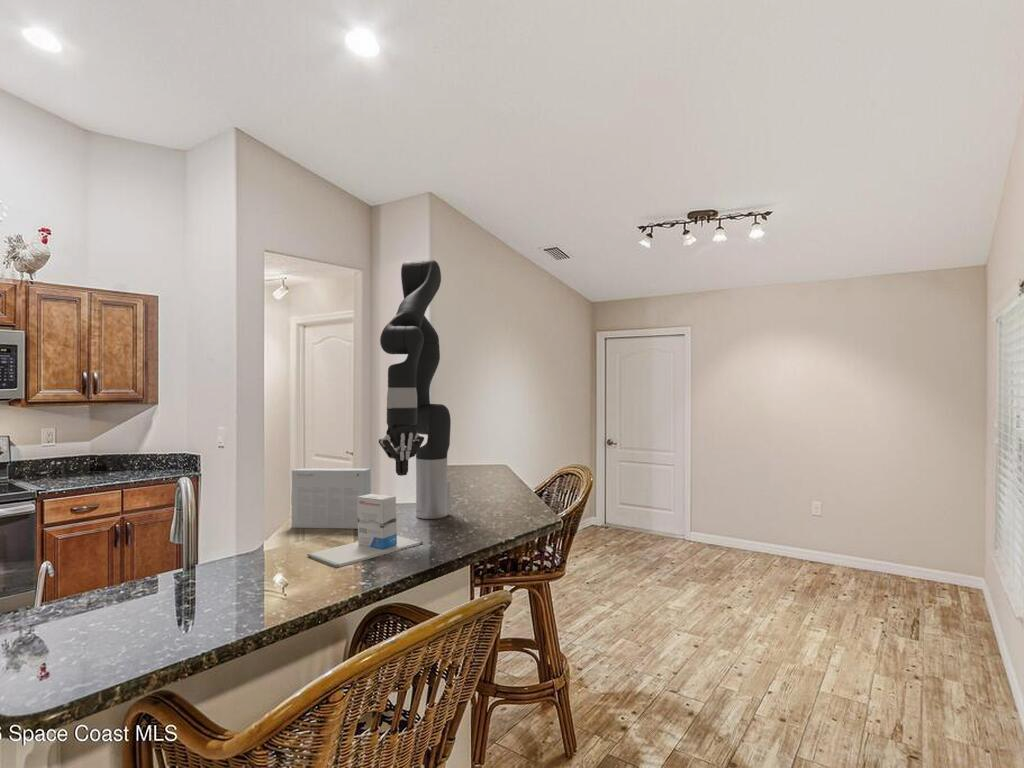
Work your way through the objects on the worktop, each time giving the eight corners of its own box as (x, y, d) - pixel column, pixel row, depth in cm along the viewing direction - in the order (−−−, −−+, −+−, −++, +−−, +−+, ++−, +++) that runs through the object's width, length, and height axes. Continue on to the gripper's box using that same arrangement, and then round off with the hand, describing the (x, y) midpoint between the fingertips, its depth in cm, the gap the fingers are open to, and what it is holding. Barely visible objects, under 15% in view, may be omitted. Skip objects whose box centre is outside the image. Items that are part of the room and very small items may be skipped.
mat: (392, 535, 149) (392, 533, 149) (423, 543, 142) (422, 541, 142) (307, 556, 131) (307, 553, 131) (336, 567, 124) (336, 564, 124)
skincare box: (371, 524, 161) (371, 467, 161) (365, 529, 156) (364, 470, 156) (299, 523, 163) (299, 467, 163) (290, 528, 158) (290, 470, 158)
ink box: (397, 545, 139) (397, 496, 139) (383, 550, 134) (382, 499, 134) (371, 540, 143) (371, 492, 143) (356, 545, 139) (356, 496, 139)
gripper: (413, 404, 152) (413, 470, 152) (370, 406, 142) (370, 476, 142) (432, 405, 147) (432, 473, 147) (389, 406, 137) (389, 479, 137)
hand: (401, 475), depth 144 cm, fingers closed
